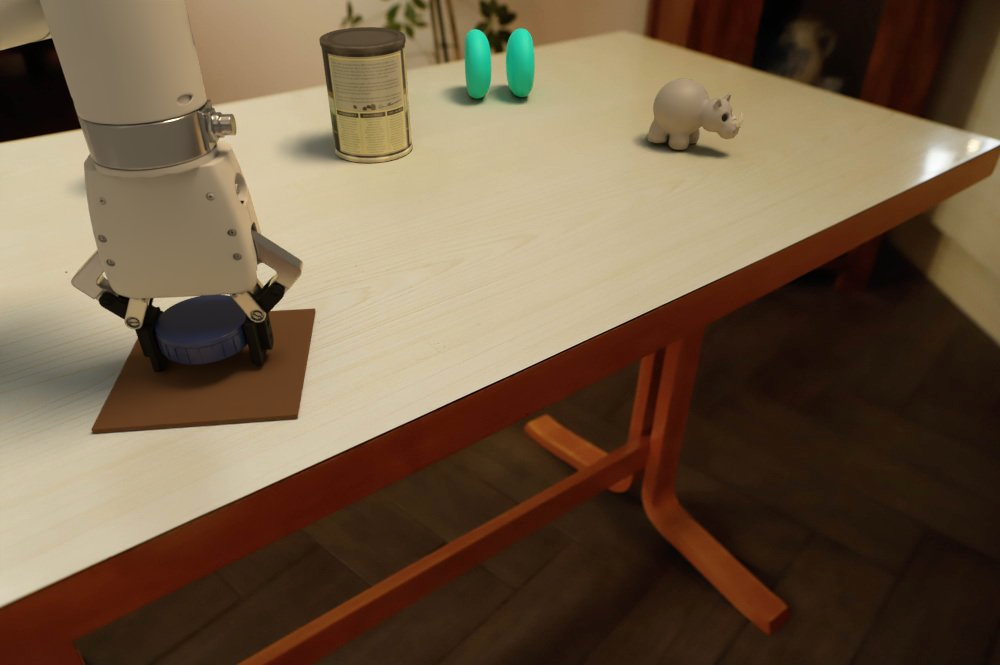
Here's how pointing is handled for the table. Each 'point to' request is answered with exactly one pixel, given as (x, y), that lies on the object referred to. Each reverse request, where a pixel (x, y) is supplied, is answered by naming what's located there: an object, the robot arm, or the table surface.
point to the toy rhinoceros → (690, 114)
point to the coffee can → (367, 93)
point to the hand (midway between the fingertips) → (212, 356)
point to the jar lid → (201, 330)
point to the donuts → (516, 63)
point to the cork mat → (214, 385)
